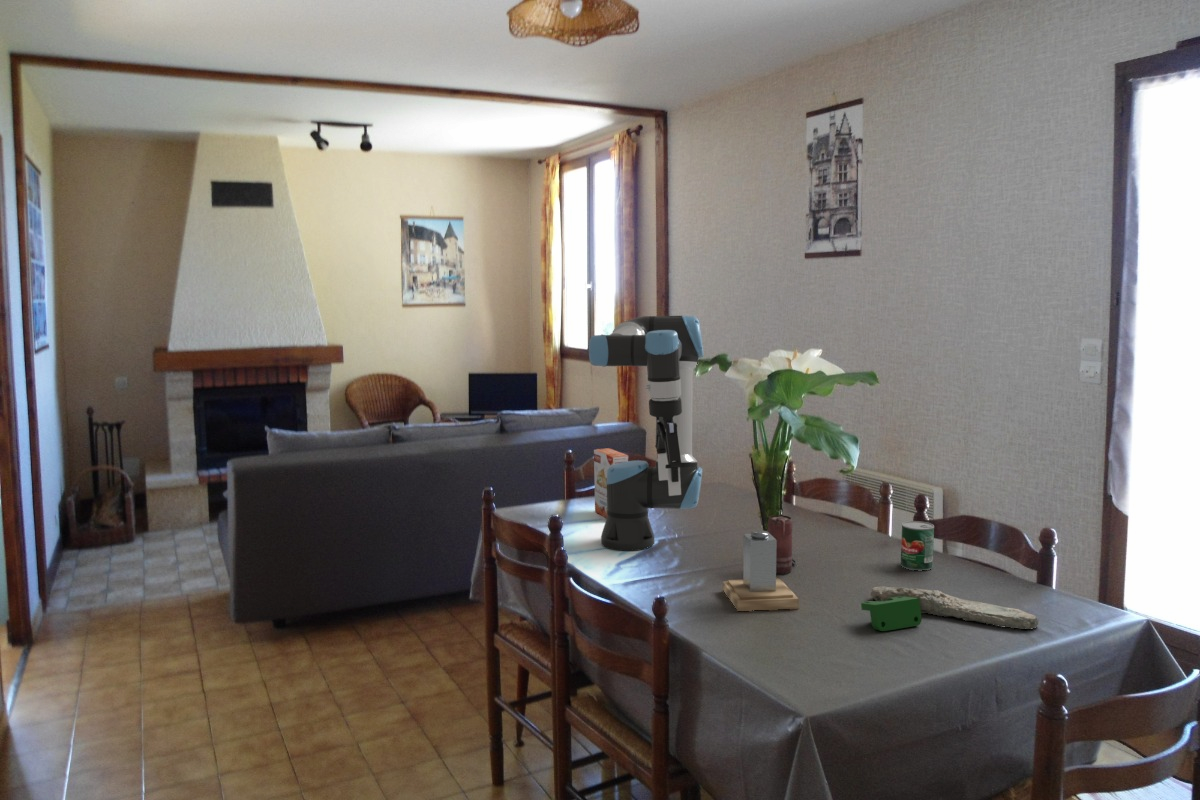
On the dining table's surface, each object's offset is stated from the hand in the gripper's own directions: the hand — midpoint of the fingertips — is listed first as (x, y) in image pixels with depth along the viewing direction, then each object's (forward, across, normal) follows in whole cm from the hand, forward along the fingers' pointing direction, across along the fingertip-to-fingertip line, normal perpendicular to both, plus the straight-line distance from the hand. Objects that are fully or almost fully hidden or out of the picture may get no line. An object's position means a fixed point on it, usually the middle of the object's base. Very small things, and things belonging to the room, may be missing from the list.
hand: (669, 487), depth 210 cm
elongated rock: (+29, +22, +58) cm, 68 cm away
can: (+28, -12, +29) cm, 42 cm away
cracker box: (+29, -73, -7) cm, 78 cm away
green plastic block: (+28, +26, +42) cm, 56 cm away
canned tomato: (+30, -11, +65) cm, 73 cm away
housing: (+24, +8, +18) cm, 31 cm away
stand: (+26, +8, +18) cm, 33 cm away
